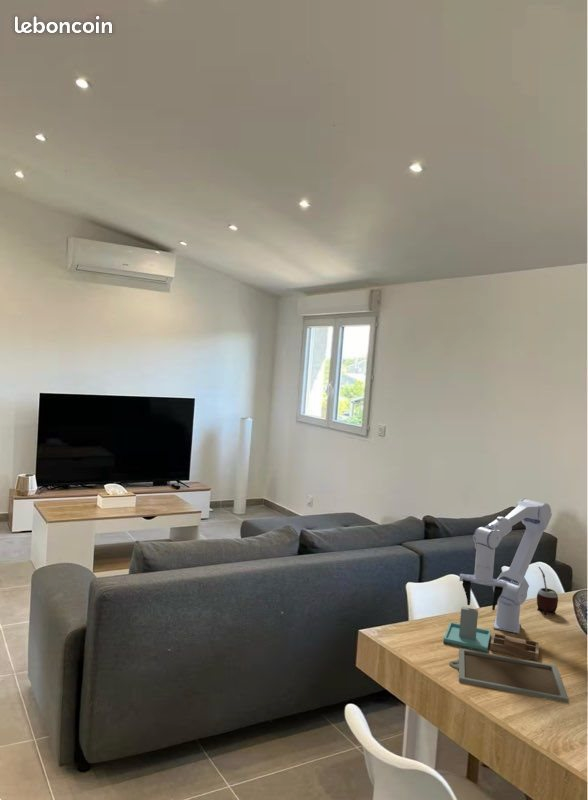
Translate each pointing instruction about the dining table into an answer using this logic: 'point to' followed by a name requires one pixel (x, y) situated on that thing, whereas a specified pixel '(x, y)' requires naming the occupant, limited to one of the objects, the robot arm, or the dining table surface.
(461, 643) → the tray
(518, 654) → the rack
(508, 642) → the offcut upper
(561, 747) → the dining table surface
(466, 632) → the slate gray block
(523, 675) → the gray framed board
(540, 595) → the mate gourd
